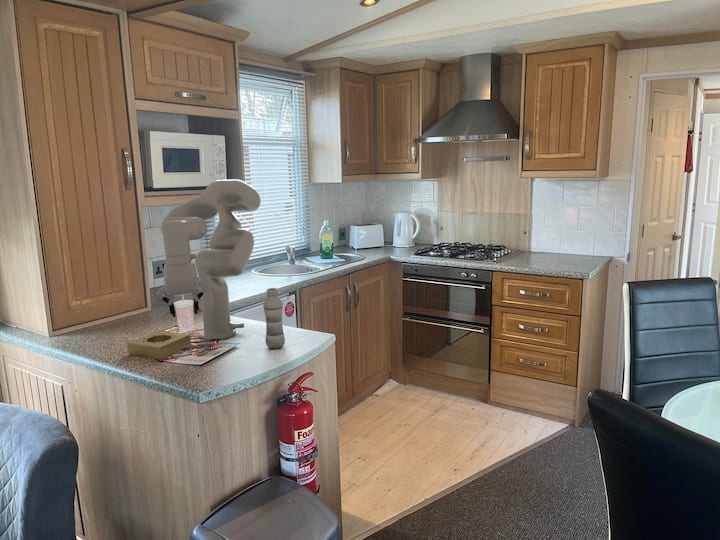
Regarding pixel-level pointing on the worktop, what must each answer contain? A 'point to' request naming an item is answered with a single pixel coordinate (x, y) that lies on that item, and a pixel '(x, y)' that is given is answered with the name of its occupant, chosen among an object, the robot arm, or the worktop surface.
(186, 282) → the robot arm
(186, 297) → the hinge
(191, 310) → the beverage cup
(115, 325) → the worktop surface
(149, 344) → the block
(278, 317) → the plastic bottle
